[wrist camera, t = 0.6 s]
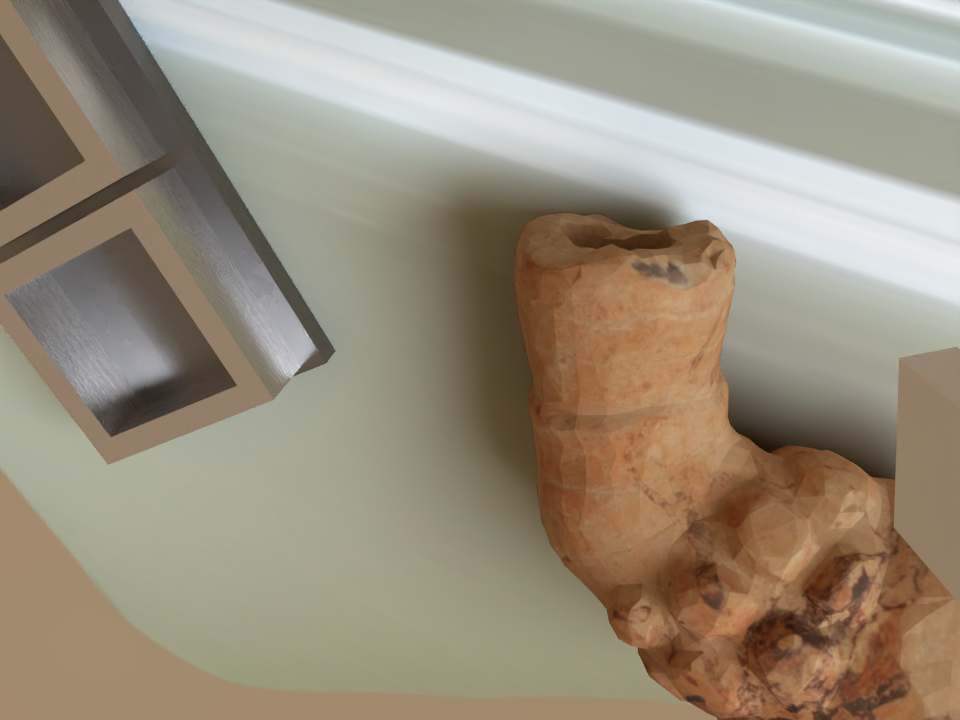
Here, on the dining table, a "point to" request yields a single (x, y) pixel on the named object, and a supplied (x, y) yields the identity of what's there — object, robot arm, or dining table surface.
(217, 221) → the divided compartment tray
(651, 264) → the brown rounded lumpy piece
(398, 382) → the dining table surface
